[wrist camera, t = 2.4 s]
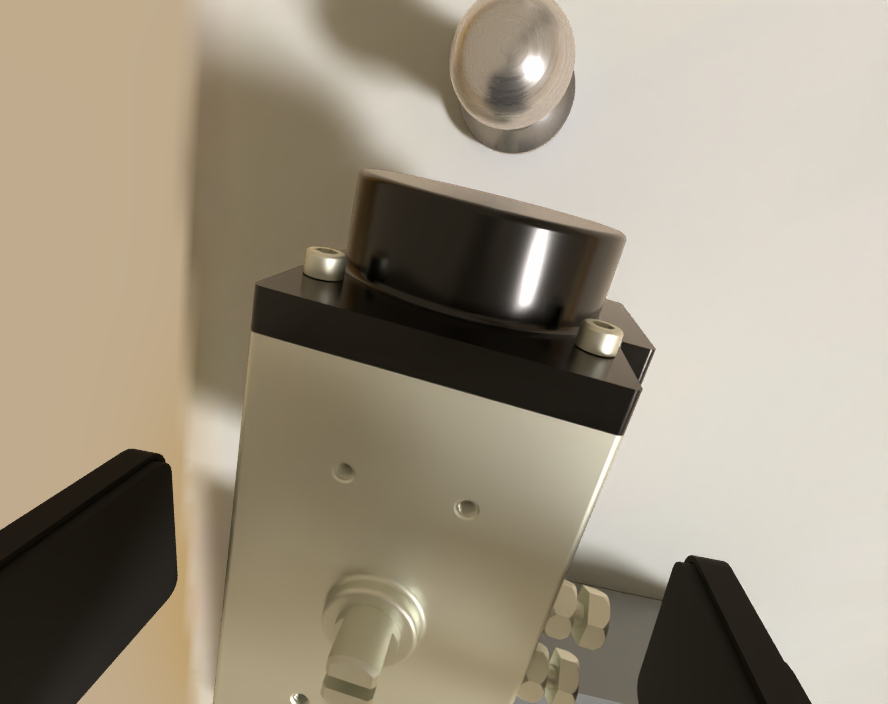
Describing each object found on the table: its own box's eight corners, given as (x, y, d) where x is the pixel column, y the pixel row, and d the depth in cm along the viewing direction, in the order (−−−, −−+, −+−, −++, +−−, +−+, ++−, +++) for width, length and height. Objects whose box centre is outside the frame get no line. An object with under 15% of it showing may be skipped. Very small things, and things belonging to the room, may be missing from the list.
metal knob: (469, 26, 14) (433, -64, 9) (583, 36, 14) (616, -52, 9) (455, 147, 15) (416, 130, 10) (561, 160, 15) (578, 148, 10)
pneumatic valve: (371, 482, 20) (159, 880, 8) (437, 172, 16) (201, 149, 4) (508, 523, 19) (477, 1000, 8) (613, 217, 15) (846, 315, 4)
